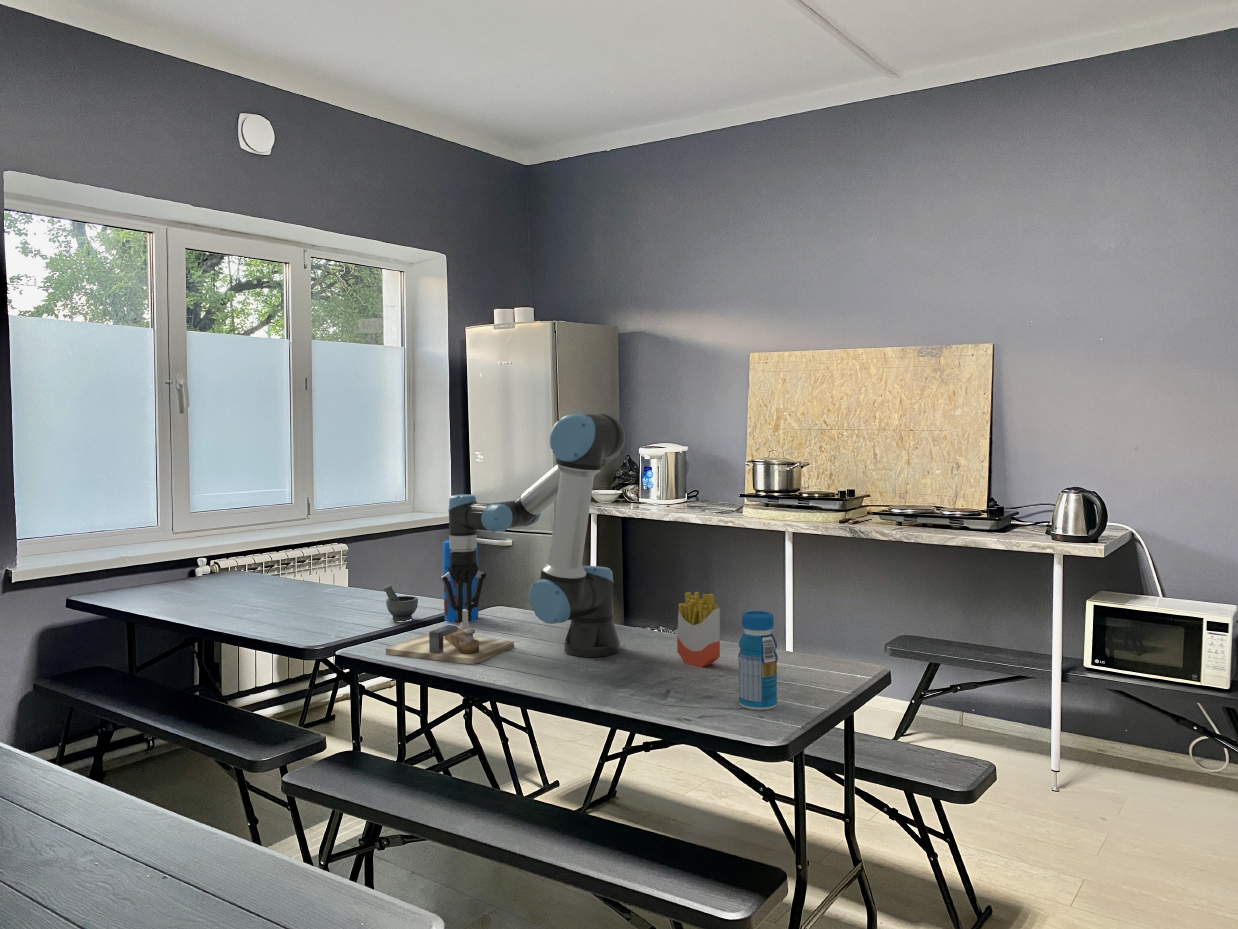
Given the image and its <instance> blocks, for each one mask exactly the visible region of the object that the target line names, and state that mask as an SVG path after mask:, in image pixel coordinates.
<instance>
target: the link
mask: <svg viewBox="0 0 1238 929" xmlns="http://www.w3.org/2000/svg"><path fill="white" fill-rule="evenodd" d="M475 633H476V629H475V628H473V627H472V628H469V627H468V629H463V631H462V630H461V629H460V627H457V632H455V633H452V634H449V635H447V636H445V639H446V640H448V641H449V642H450V643H451V644H452V645H454V646H455V647H456V648H457V649H459V652H460V653H464V654H471V653H476V652H478V651H479V641H478V640H474V639H473V637H474V634H475Z"/></svg>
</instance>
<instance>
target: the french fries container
mask: <svg viewBox="0 0 1238 929" xmlns="http://www.w3.org/2000/svg"><path fill="white" fill-rule="evenodd" d="M684 601H685V602H683V603H682V602H681V603H678V606H677V607H678V614H677V615H678V617H677V631H676V632H677V633H676V634H677V635H676V638H677V640H676V642H677V644H676V645H677V646H676V647H677V649H676V650H677V651H676V653H677V654H678V655H679V656H680V658H681V659H682V661H683V663H684V664H687V665H689V666H691V665H692V666H695V667H699V668H704V667H706V666H711V665H712V664H713V663H715V661H717V660H718V659H719V658H720V657H721V635H720V634H721V631H720V630H721V627H720V626H721V625H720V624H721V621H720V620H721V615H720V614H721V613H720V612H721V609H720V607H719V604H717V603H715V594H713V593H710V594H707V593H702V598H700V592H699V591H696V592H694V595H692V592H685V593H684Z"/></svg>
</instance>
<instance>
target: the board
mask: <svg viewBox="0 0 1238 929" xmlns="http://www.w3.org/2000/svg"><path fill="white" fill-rule="evenodd" d="M473 639H474V640H478V641H479V651H478V652H476V653H471V654H464V653H460V652H459V649H457V648H456V647H455V646H454V645H452V644H451V643H450V642H449V641H448V640H446V639H445V636H444V637H443V652H441V653H431V652H430V651H429V633H425V634H423V635H421V636H420V635H419V636H417V637H414V638H411V639H409V640H406V641H404V642H401V643H397V644H395V645H394V644H393V646H392V645H391V646H389V647H386V648H385V655H392V656H398V655H400V657H407V658H408V657H409V658H416V659H423V660H431V661H441V662H450V663H458V664H467V665H476V664H478V663H480V662H482V661H485V660H487V659H489V658H493V657H494V656H496V655H498V654H501V653H503V652H505V651H507V650H509V649H512V648H514V647H515V642H514V640H505V639H504V640H503V639H496V638H495V639H493V638H485V637H478V636H477V637H476V636H473Z"/></svg>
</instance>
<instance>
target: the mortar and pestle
mask: <svg viewBox="0 0 1238 929" xmlns="http://www.w3.org/2000/svg"><path fill="white" fill-rule="evenodd" d="M382 590H383V591H384V592H385V594H386V596H387V598H386V599H385V601H386V602H385V603H386V604H385V605H386V609H387V610H388V612H389V613H390V614H391V615H392V620H393V621H406V620H410V619H412V620H413V615H414V614H415V612H416V610H417V608H418V606H419V605H418V604H419V599H418V597H417V596H411V595H397V593H396V592H395V591H394V588H393V586H392V584H386V585H385V586H384V587H383V589H382ZM392 620H391V621H392ZM393 621H392V622H393Z"/></svg>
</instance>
